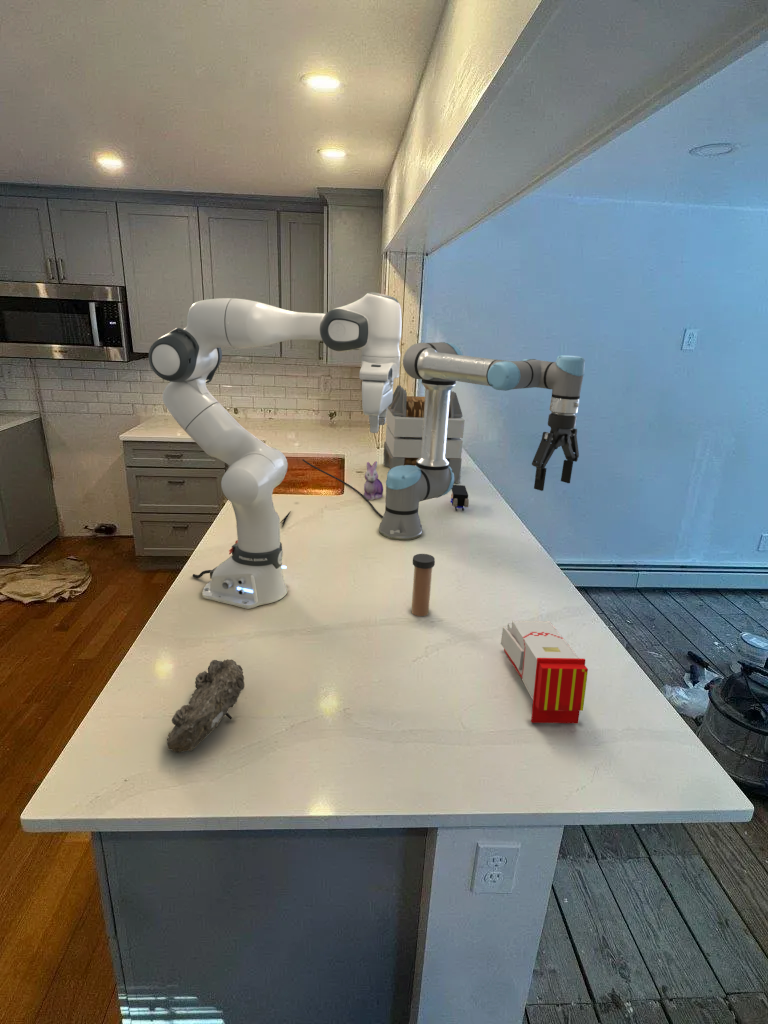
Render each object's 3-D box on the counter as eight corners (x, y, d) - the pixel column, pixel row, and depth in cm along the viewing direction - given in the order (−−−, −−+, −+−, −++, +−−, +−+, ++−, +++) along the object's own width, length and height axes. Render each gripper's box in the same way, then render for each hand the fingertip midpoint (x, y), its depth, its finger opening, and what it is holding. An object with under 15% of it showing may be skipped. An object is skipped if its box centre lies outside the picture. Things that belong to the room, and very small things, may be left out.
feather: (297, 505, 227) (300, 501, 226) (281, 528, 200) (284, 524, 199) (293, 503, 226) (296, 499, 226) (277, 526, 200) (279, 522, 199)
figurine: (368, 501, 231) (369, 466, 226) (357, 494, 239) (358, 459, 234) (388, 499, 235) (390, 464, 230) (377, 492, 244) (378, 458, 239)
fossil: (192, 660, 117) (244, 628, 112) (224, 691, 120) (276, 661, 115) (142, 746, 98) (202, 712, 93) (182, 779, 101) (242, 748, 96)
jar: (415, 617, 146) (418, 564, 141) (408, 608, 150) (412, 556, 145) (431, 615, 148) (435, 562, 143) (424, 606, 152) (428, 555, 147)
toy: (547, 606, 135) (596, 665, 106) (541, 658, 138) (589, 729, 108) (496, 604, 134) (532, 664, 105) (492, 657, 137) (526, 729, 108)
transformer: (382, 463, 289) (386, 382, 275) (445, 464, 293) (451, 384, 279) (390, 482, 257) (394, 392, 243) (460, 483, 261) (468, 394, 247)
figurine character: (468, 516, 224) (463, 500, 237) (471, 498, 221) (465, 483, 234) (452, 515, 224) (447, 499, 237) (453, 498, 220) (449, 482, 234)
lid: (417, 570, 141) (418, 563, 140) (409, 560, 146) (409, 554, 145) (437, 567, 143) (438, 561, 142) (429, 558, 148) (429, 552, 147)
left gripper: (375, 364, 140) (373, 419, 145) (357, 372, 121) (355, 436, 126) (400, 365, 139) (397, 421, 144) (386, 374, 120) (384, 438, 125)
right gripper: (548, 419, 148) (537, 496, 155) (598, 411, 163) (586, 482, 171) (525, 414, 153) (515, 489, 160) (575, 407, 169) (564, 476, 176)
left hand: (377, 428), depth 135 cm, fingers open, 8 cm apart
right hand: (552, 485), depth 166 cm, fingers open, 13 cm apart
